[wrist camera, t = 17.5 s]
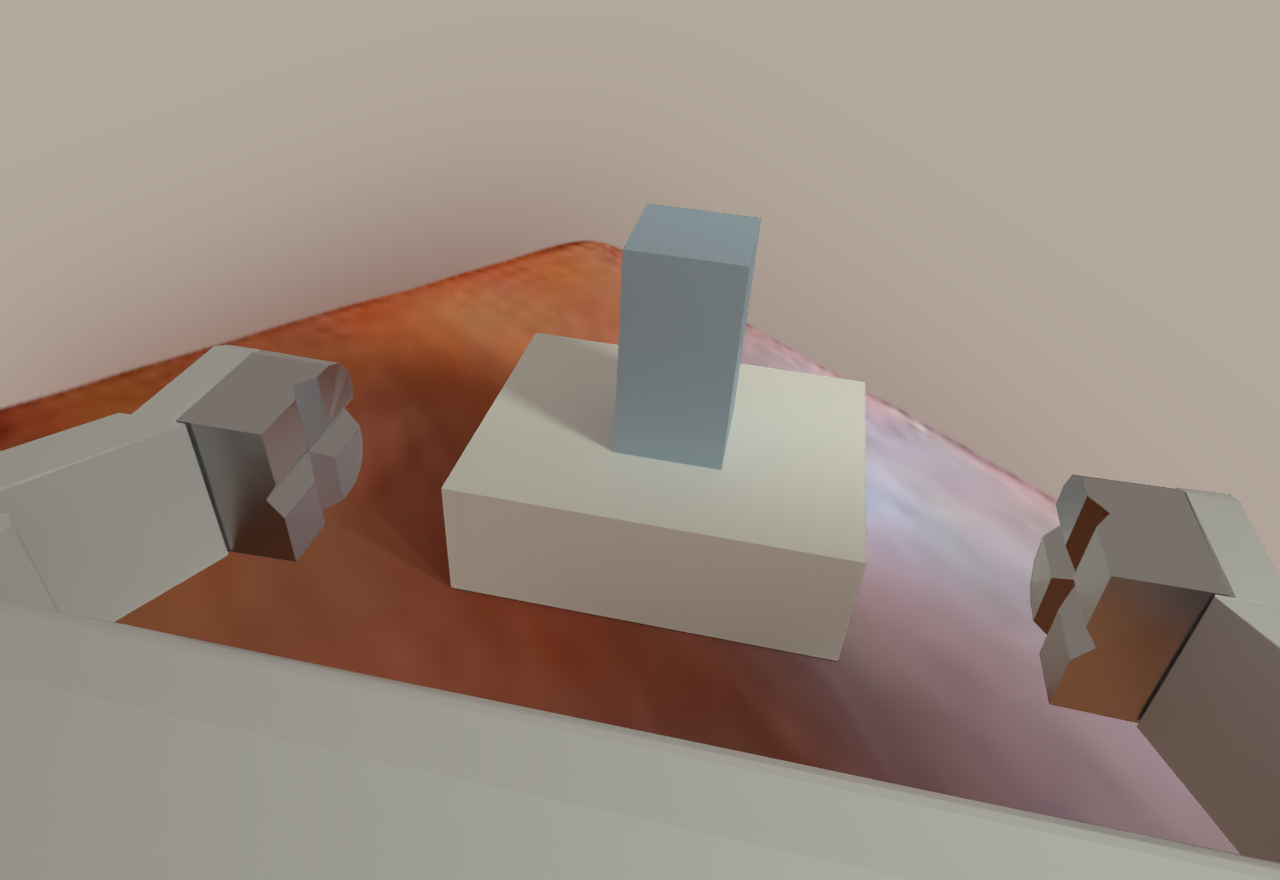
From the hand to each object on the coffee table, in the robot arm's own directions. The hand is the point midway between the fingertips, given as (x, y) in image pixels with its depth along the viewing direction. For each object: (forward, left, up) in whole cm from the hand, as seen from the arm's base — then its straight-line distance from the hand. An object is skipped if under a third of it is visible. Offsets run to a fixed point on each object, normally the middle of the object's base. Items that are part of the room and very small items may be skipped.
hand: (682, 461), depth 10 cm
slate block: (+3, -27, -19) cm, 33 cm away
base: (+3, -27, -25) cm, 36 cm away
